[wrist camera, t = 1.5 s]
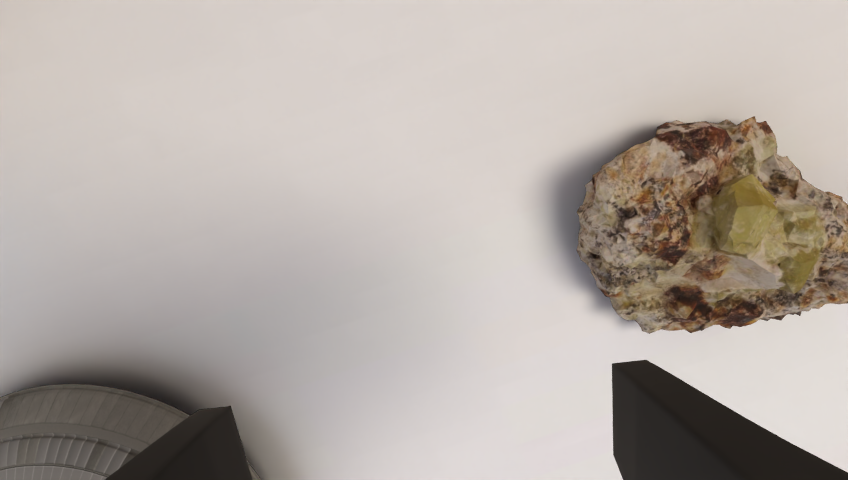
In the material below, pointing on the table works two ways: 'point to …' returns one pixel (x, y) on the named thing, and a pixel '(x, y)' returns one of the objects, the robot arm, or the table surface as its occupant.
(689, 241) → the mineral rock
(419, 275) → the table surface
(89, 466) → the flying saucer
